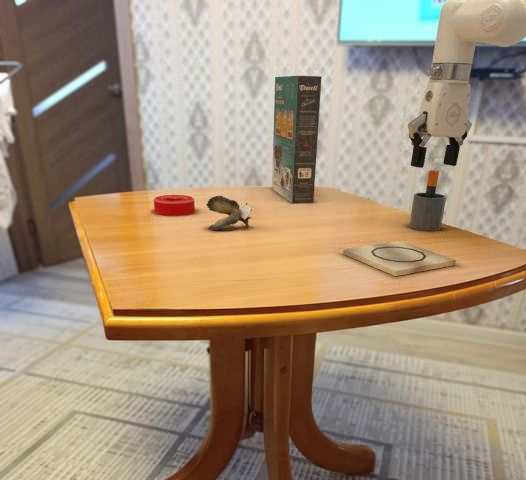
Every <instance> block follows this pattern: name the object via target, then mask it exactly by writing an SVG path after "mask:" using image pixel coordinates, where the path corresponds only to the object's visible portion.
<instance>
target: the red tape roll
mask: <svg viewBox="0 0 526 480" xmlns="http://www.w3.org/2000/svg"><path fill="white" fill-rule="evenodd" d="M195 205H196V204H195V199H194V197H192V196H190V195H184V194H163V195H159V196H158V195H157V196H155V197H154V199H153V209H154V213H155V214H157V215H161V216H167V217H168V216H169V217H177V216H187V215H191V214H195V212H196V211H195V210H196V209H195V208H196V207H195Z"/></svg>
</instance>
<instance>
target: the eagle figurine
mask: <svg viewBox="0 0 526 480" xmlns="http://www.w3.org/2000/svg"><path fill="white" fill-rule="evenodd" d="M240 206H241V205H240V204H239V203H238V201H236V200H235V199H230V198H227V197H226V196H223V195H215V196H212V197H210V198H209V199H208V200H207V203H206V207H207V208H208V209H209V211H211V212H214V213H217V214H221V215H222V214H223V215H228V216H226V217H222V218H220V219H218V220H217V221H215V223H214V224H211V225H210V226H208V227H207V230H212V231H218V230H220V229H223V228H225V227H227V226H231V225H235V224H238V223H239V222H242V223H243V225H245V227H247V228H249V227H250V225H249V220H251V219H252V217H251V216H250V215H251V212H252V211H253V209H252V208H251V206H250V205H248V202H246V203H245V205H244V206H243V207H241V208H240Z"/></svg>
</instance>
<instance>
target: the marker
mask: <svg viewBox="0 0 526 480" xmlns="http://www.w3.org/2000/svg"><path fill="white" fill-rule="evenodd" d="M439 175H440V170H434V169H430V170H428V174H427V181H426V188H425V193H426V194H425V197H426V198H435V193H436V191H437V186H438V180H439Z"/></svg>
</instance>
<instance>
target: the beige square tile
mask: <svg viewBox="0 0 526 480" xmlns="http://www.w3.org/2000/svg"><path fill="white" fill-rule="evenodd" d="M342 251H343V252H342V255H344V256H347V257H349V258H350V259H353V260H355V261H358V262H360V263H363V264H365V265H368V266H370V267H372V268H374V269H377V270H380V271H382V272H384V273H387V274H388V275H391V276H393V277H399V276H405V275H411V274H416V273H420V272H425V271H426V272H427V271H431V270H436V269H441V268H447V267H452V266H455V265H456V261H457V259H456V258H452V257H449V256H446V255H443V254H440V253H438V252H434V251H432V250H428V249H427V248H422V247H420V246H417V245H414V244H411V243H408V242H405V241H402V240H396V241H390V242H382V243H375V244H370V245H363V246H362V245H361V246H355V247H349V248H344V249H343V250H342Z"/></svg>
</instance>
